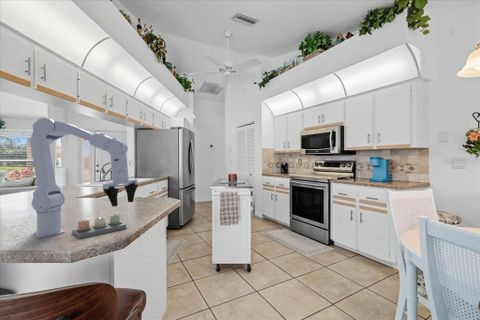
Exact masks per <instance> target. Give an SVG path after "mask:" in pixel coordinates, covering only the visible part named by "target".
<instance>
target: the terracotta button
mask: <svg viewBox="0 0 480 320" xmlns="http://www.w3.org/2000/svg"><path fill="white" fill-rule="evenodd" d="M90 226H91V225H90V220H89V219H83V220H78V221H77V228H78V232H83V231H88V230H90Z"/></svg>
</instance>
